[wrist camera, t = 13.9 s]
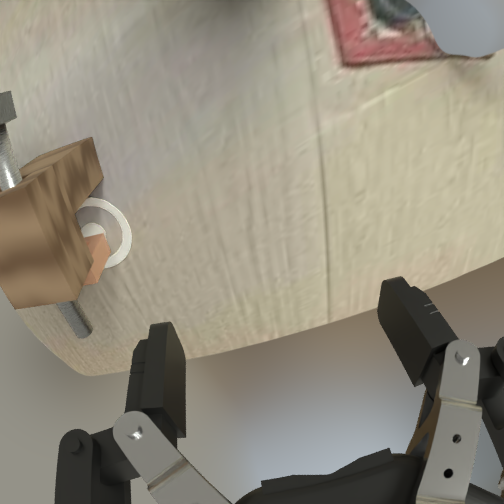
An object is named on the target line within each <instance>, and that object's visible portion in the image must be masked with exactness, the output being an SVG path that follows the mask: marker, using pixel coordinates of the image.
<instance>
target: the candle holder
mask: <svg viewBox="0 0 504 504" xmlns="http://www.w3.org/2000/svg"><path fill="white" fill-rule="evenodd" d="M87 206H95V207H100V208H102V209H105V210H106V211H108V212H109V213H111V214H112V215H113V216H114V217H115V218H116V220H117V221H118V223H119V224H120V227H121V230H122V243H121V246H120V248H119V249H118V251H117V252H116V253H115V254H113V255H112V256H110V257H108V260H107V262H106V264H105V266H104V268H109V267H113V266H115V265H117V264H119V263H120V262H122V261H123V260H124V259H125V258H126V256H127V255H128V253H129V251H130V248H131V244H132V234H131V229H130V226H129V224H128V222H127V220H126V218H125V217H124V215H123V214H122V213H121V212H120V211H119V210H118V209H117V208H116V207H115V206H113V205H112V204H110V203H109V202H107V201H105V200H103V199H98V198H93V197H88V198H87V199H86V200H85V201H84V203H83V204H82V205H81V207H80V208H79V209H81V208H83V207H87ZM79 209H78V210H79ZM81 232H82V234H83V237H89V236H93V235H97V234H101V233H104V235H105V238H106V232H105V230H104V229H103V228H102V227H101V226H100V225H99V224H96V223H88V224H86V225H85V226H84V227H83V228H82V229H81Z"/></svg>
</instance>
